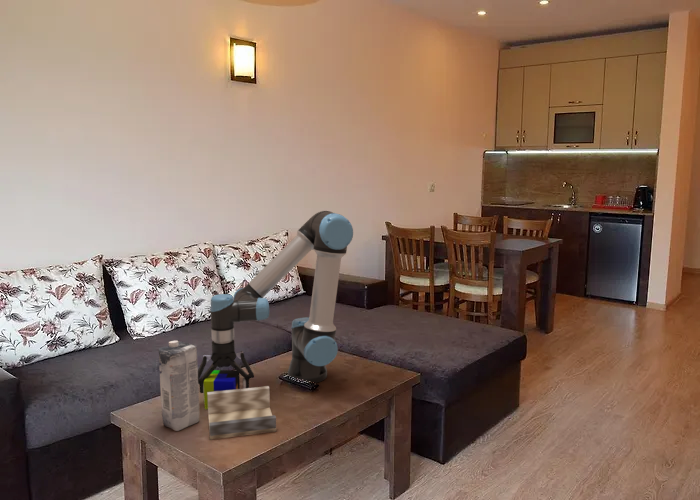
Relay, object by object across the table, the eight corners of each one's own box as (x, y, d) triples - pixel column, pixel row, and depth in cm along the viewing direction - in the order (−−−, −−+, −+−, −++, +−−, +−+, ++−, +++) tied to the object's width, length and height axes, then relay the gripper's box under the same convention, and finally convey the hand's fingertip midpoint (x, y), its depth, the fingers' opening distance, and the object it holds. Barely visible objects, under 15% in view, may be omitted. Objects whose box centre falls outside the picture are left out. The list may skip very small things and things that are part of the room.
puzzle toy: (234, 409, 197) (233, 381, 195) (204, 409, 197) (203, 381, 195) (240, 397, 206) (239, 370, 205) (211, 397, 207) (210, 370, 205)
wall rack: (269, 408, 197) (268, 386, 196) (276, 431, 181) (275, 407, 180) (208, 415, 192) (207, 392, 191) (210, 439, 176) (209, 414, 175)
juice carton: (203, 421, 188) (200, 341, 183) (176, 434, 179) (171, 350, 175) (186, 414, 193) (182, 335, 188) (158, 425, 185) (154, 344, 180)
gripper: (258, 333, 205) (259, 391, 208) (185, 339, 198) (187, 398, 202) (261, 340, 198) (262, 399, 201) (184, 346, 191) (187, 407, 195)
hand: (225, 399), depth 202 cm, fingers open, 13 cm apart
